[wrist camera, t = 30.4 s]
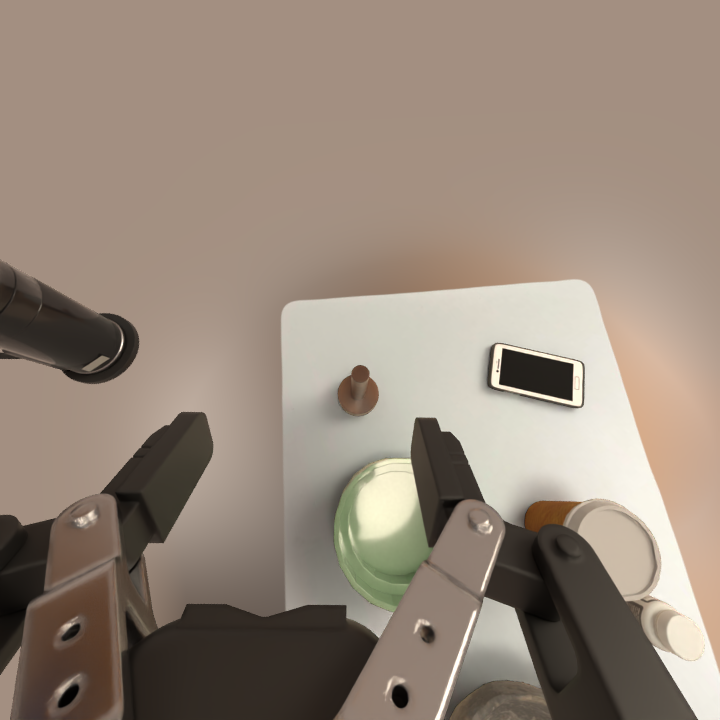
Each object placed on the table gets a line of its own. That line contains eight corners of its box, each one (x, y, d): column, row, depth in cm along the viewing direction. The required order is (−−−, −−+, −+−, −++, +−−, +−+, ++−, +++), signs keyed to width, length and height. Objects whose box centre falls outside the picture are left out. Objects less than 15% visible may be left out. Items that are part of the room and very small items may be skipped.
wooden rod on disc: (344, 421, 46) (341, 407, 33) (334, 383, 48) (327, 356, 34) (382, 409, 47) (394, 391, 33) (370, 373, 48) (377, 342, 35)
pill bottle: (623, 632, 39) (693, 678, 31) (593, 599, 40) (654, 635, 32) (644, 604, 40) (718, 642, 32) (615, 572, 41) (679, 600, 33)
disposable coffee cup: (565, 580, 41) (649, 630, 29) (501, 536, 42) (557, 567, 31) (591, 514, 43) (677, 536, 32) (529, 474, 44) (591, 481, 33)
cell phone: (580, 409, 47) (584, 408, 46) (486, 388, 48) (488, 386, 47) (580, 363, 50) (585, 361, 49) (491, 343, 50) (493, 341, 49)
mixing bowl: (356, 606, 39) (356, 635, 33) (323, 477, 44) (318, 481, 37) (471, 563, 41) (493, 582, 35) (429, 443, 45) (441, 441, 39)
